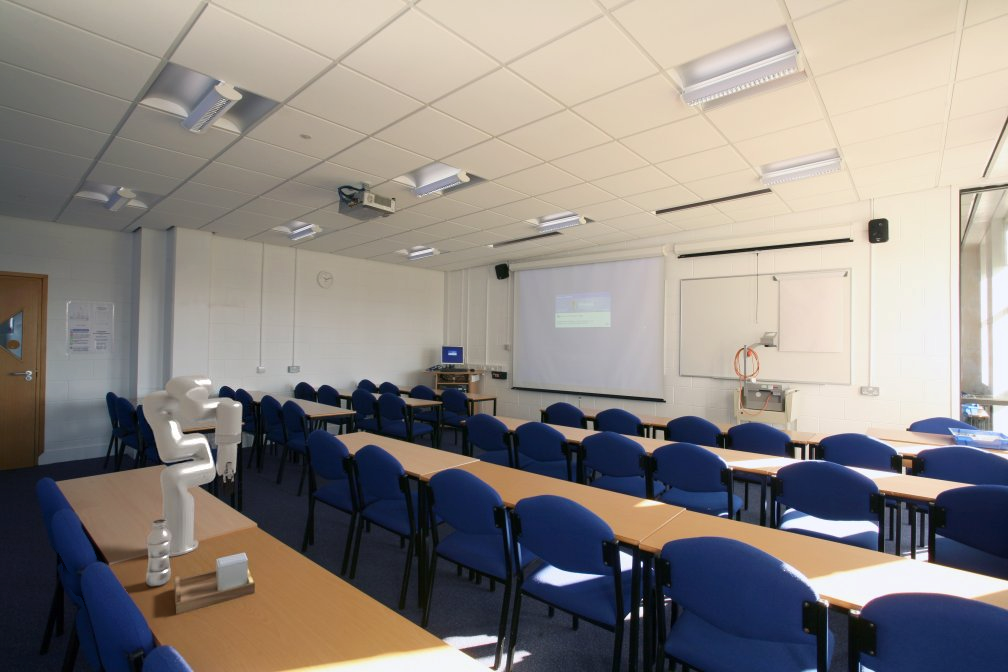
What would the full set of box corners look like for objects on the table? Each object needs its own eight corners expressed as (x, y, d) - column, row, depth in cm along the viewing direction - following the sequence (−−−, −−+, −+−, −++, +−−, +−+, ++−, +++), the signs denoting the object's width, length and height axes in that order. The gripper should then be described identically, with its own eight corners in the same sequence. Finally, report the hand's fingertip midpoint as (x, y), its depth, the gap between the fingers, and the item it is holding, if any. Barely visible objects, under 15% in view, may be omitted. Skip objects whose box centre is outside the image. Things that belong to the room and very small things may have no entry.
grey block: (216, 582, 150) (216, 558, 150) (244, 575, 155) (244, 551, 155) (218, 591, 145) (218, 565, 145) (247, 583, 150) (247, 559, 150)
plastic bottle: (157, 590, 147) (159, 526, 147) (139, 587, 148) (141, 524, 148) (176, 579, 153) (177, 518, 153) (158, 577, 154) (160, 516, 154)
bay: (174, 589, 147) (174, 573, 147) (246, 571, 159) (246, 556, 159) (176, 614, 135) (176, 597, 135) (254, 592, 147) (254, 576, 147)
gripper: (212, 433, 162) (210, 483, 163) (217, 445, 148) (215, 499, 149) (237, 431, 167) (235, 479, 167) (244, 443, 153) (242, 495, 153)
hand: (226, 489), depth 158 cm, fingers open, 9 cm apart
